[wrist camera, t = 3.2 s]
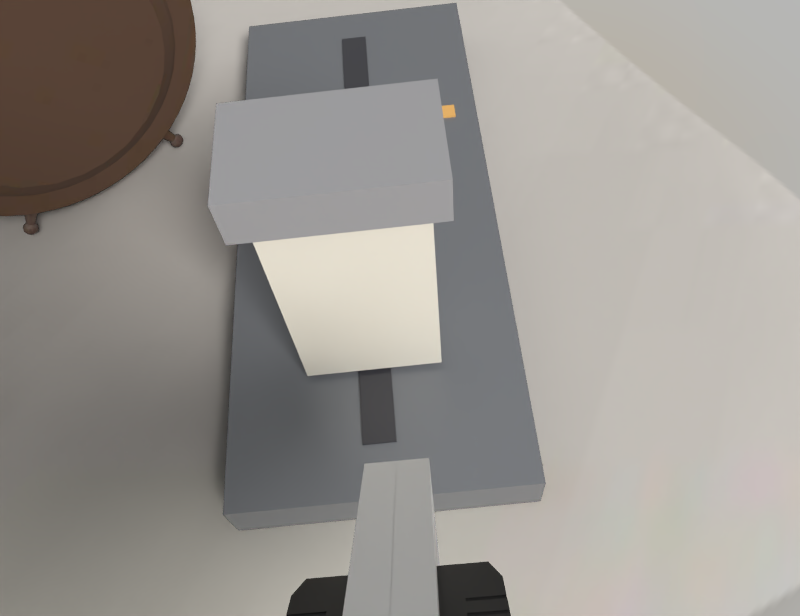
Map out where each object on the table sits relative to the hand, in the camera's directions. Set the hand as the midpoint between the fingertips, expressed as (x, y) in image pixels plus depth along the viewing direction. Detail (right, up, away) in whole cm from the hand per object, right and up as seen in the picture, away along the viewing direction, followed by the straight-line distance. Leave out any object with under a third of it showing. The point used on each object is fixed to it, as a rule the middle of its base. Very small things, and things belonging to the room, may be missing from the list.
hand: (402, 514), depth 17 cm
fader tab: (-1, +4, +11) cm, 11 cm away
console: (-1, +8, +16) cm, 18 cm away
